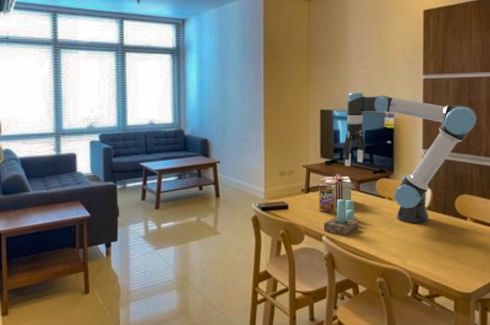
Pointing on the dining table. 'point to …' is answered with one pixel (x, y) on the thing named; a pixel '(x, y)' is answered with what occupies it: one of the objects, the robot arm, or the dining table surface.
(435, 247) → the dining table surface
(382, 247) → the dining table surface
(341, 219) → the long dowel
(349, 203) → the medium dowel
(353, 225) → the walnut block
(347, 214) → the short dowel
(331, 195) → the candy box
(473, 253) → the dining table surface
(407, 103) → the robot arm
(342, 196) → the gift box
